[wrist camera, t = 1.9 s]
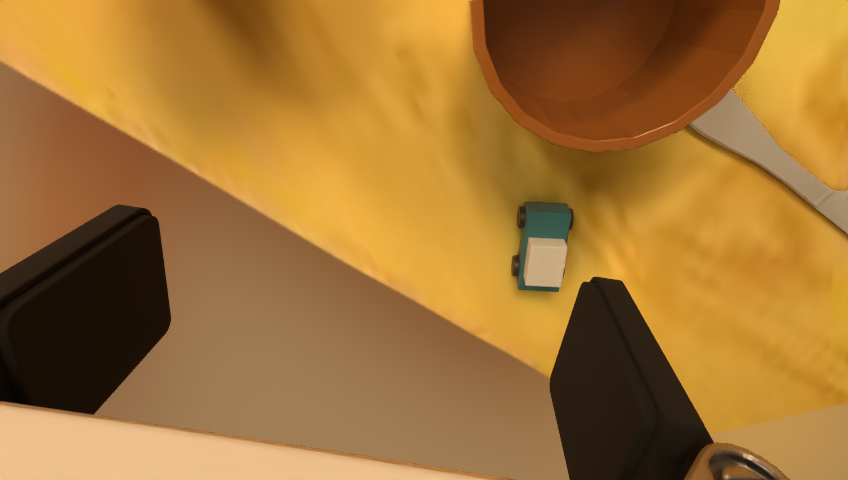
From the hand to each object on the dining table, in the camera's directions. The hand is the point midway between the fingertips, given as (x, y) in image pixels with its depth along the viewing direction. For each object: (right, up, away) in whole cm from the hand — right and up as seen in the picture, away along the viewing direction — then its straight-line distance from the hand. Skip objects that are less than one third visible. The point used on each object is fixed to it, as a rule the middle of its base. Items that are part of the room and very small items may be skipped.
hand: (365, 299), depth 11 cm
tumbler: (+9, +14, +15) cm, 23 cm away
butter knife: (+26, +4, +19) cm, 32 cm away
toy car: (+9, +1, +21) cm, 23 cm away
